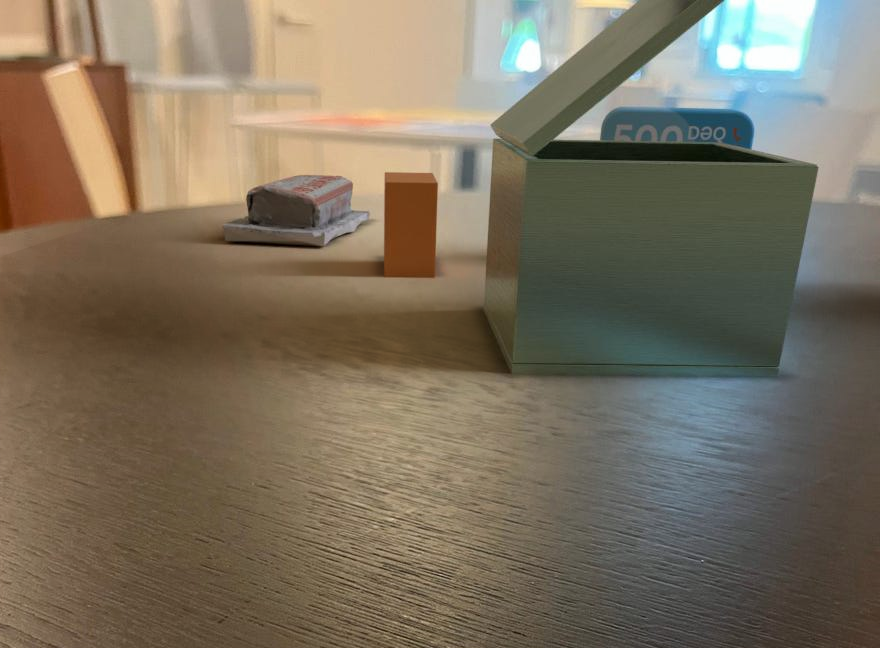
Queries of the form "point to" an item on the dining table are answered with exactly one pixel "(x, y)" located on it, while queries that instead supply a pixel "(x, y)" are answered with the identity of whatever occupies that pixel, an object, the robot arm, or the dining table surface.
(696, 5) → the bin lid
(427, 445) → the dining table surface
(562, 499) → the dining table surface
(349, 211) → the packaged product
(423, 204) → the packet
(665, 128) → the data package
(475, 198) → the dining table surface
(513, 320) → the bin
